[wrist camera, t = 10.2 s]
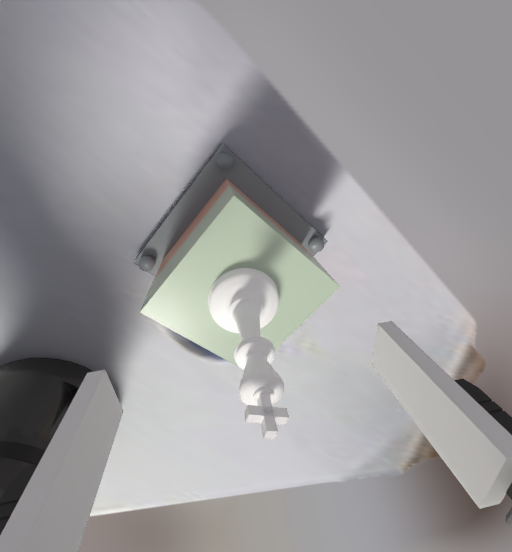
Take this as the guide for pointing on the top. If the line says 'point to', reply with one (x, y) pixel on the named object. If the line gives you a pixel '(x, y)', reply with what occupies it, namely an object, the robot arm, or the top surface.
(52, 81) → the top surface
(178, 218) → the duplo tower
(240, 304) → the chess piece
